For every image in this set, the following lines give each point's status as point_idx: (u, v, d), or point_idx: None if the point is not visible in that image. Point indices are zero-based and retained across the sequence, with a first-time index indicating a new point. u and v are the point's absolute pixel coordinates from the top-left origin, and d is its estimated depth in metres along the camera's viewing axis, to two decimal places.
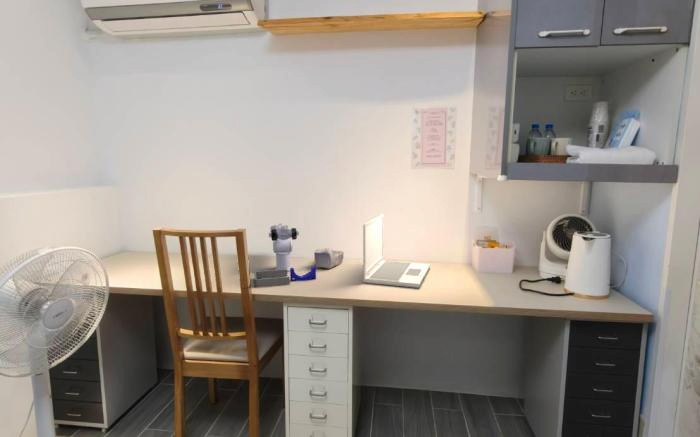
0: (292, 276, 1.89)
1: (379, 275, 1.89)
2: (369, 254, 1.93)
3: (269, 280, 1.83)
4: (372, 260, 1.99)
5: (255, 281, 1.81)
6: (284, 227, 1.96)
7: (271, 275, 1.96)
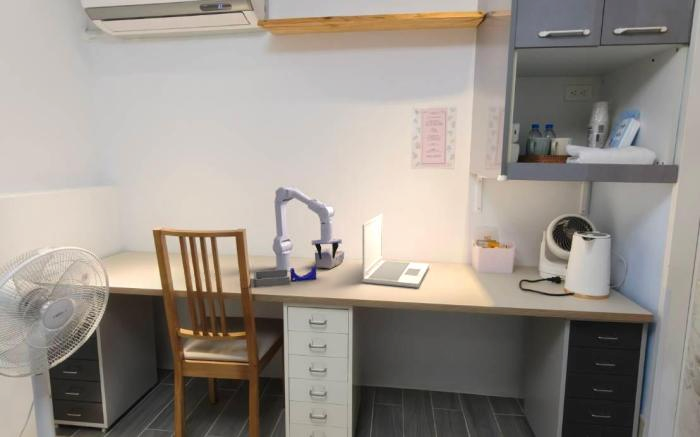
0: (292, 276, 1.89)
1: (378, 275, 1.89)
2: (368, 254, 1.93)
3: (269, 280, 1.83)
4: (371, 260, 1.99)
5: (255, 281, 1.81)
6: (328, 242, 1.90)
7: (271, 275, 1.96)
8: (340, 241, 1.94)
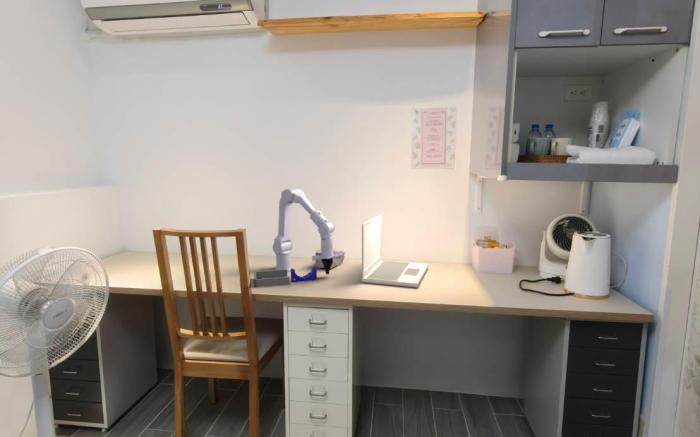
0: (293, 277, 1.88)
1: (377, 275, 1.89)
2: (367, 253, 1.93)
3: (269, 280, 1.83)
4: (370, 260, 1.99)
5: (255, 281, 1.81)
6: None
7: (271, 275, 1.96)
8: (340, 256, 1.95)
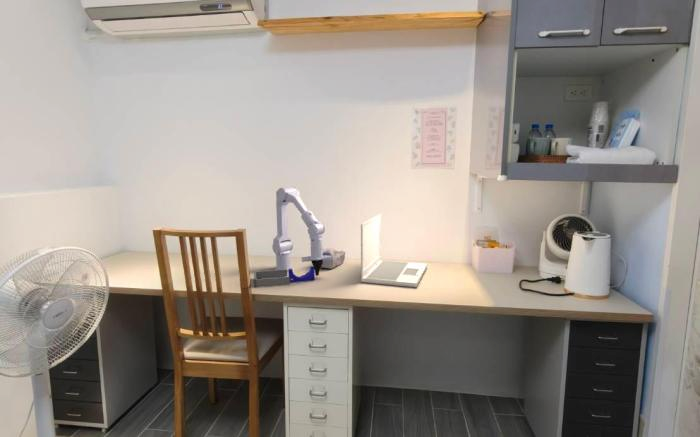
0: (291, 277, 1.87)
1: (376, 275, 1.90)
2: (367, 253, 1.93)
3: (269, 280, 1.83)
4: (369, 260, 1.99)
5: (255, 281, 1.81)
6: (318, 259, 1.90)
7: (271, 275, 1.96)
8: (330, 258, 1.94)
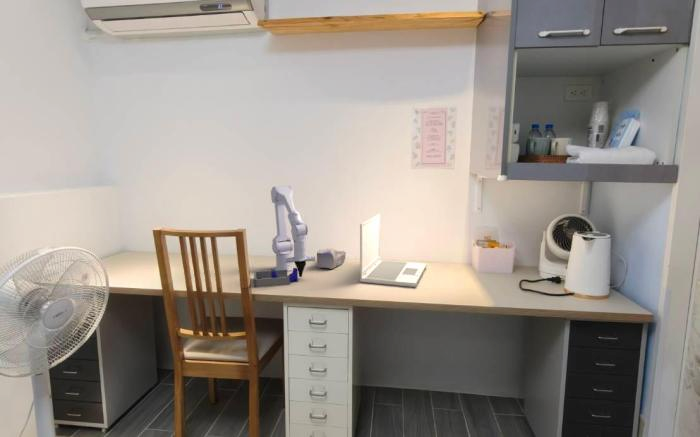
0: None
1: (376, 275, 1.90)
2: (366, 253, 1.94)
3: (269, 280, 1.83)
4: (369, 260, 1.99)
5: (255, 281, 1.81)
6: (301, 260, 1.88)
7: None
8: (314, 259, 1.92)
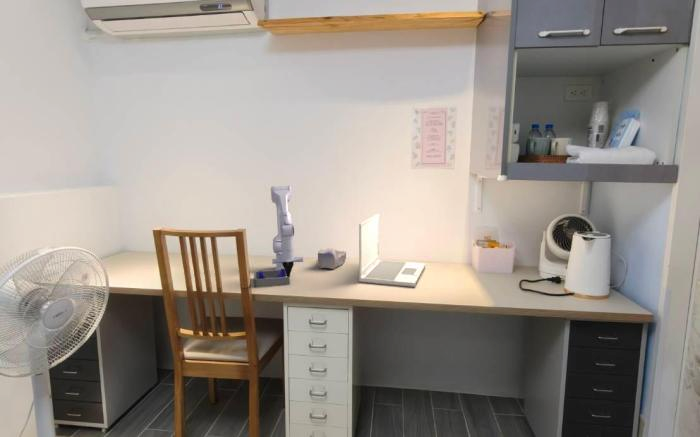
0: None
1: (375, 275, 1.90)
2: (365, 253, 1.94)
3: (269, 280, 1.83)
4: (368, 259, 2.00)
5: (255, 281, 1.81)
6: (289, 261, 1.87)
7: (271, 275, 1.96)
8: (301, 259, 1.91)
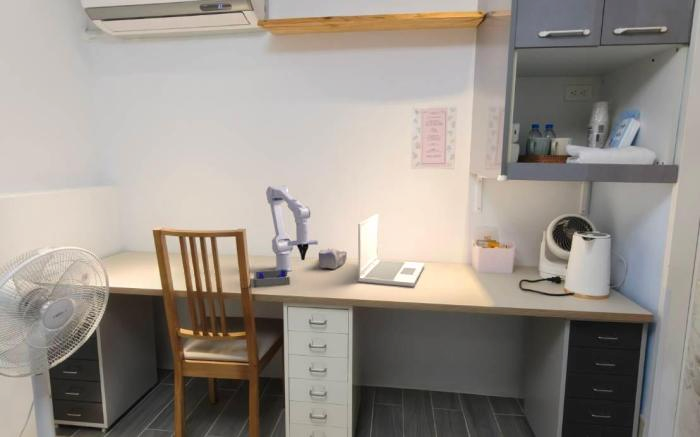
0: None
1: (374, 275, 1.90)
2: (364, 253, 1.94)
3: (269, 280, 1.83)
4: (367, 259, 2.00)
5: (255, 281, 1.81)
6: (304, 243, 1.89)
7: (271, 275, 1.96)
8: (316, 242, 1.92)
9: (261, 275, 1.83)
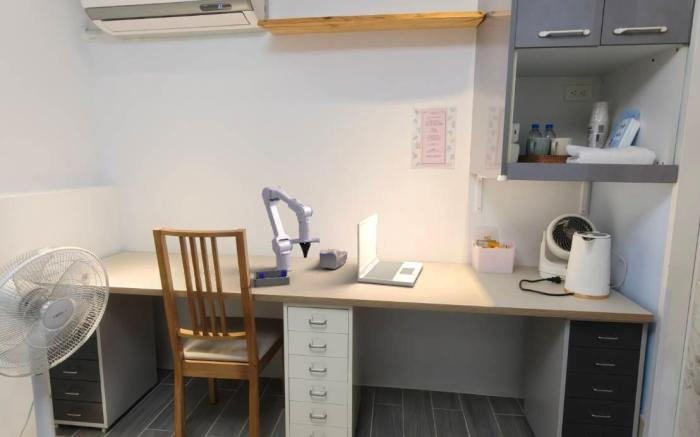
0: None
1: (373, 274, 1.91)
2: (363, 253, 1.94)
3: (269, 280, 1.83)
4: (366, 259, 2.00)
5: (255, 281, 1.81)
6: (306, 241, 1.93)
7: (271, 275, 1.96)
8: (318, 240, 1.97)
9: (262, 275, 1.83)
